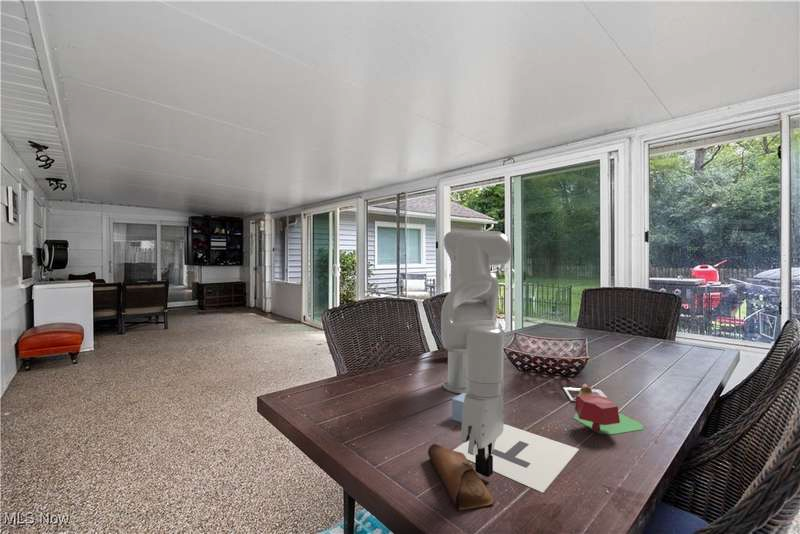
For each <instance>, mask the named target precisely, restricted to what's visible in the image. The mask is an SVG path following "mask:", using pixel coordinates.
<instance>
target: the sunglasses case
mask: <svg viewBox="0 0 800 534" xmlns="http://www.w3.org/2000/svg"><path fill="white" fill-rule="evenodd" d="M453 450H454V449H449V448H447V447H445V446H442V445H440V444H436V443H432V444H431V445H430V446H429V447H428V450H427V456H428V457H429V460H430V461H431V463H432V464H433V466H434V468H435V470H436V471H437V473H438V475H439V478H440V479H441V481H442V483H443V485H444V487H445V489H446V491H447V493H448V495H449V497H450V499H451V500H452V502H453V504H454V506H455V507H456V508H457V509H458V510H459V511H467V510H476V509H481V508H484V507H490V506H491V505H494V504H495V499H494V498H493V495H492V494H491V492H490V491H489V490H488V488H487V486H486V485H485V483H484V482H483V480H482V479H481V478H480V476H479V475H478V473H477V472H476V471H475V469H474V467H473V466H472V464H471V463H470V462H469V460H467V458H466V457H465V455H464V454H463V453H460V452H457V451H453Z"/></svg>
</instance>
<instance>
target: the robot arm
mask: <svg viewBox="0 0 800 534" xmlns="http://www.w3.org/2000/svg"><path fill="white" fill-rule="evenodd" d="M443 245H444V249H445V252H446V254H447V255H448V257H449V259H450V260H449V261H450V284H449V285H450V286H449V287H450V291H449V292H448V293H447V295H446V297H445V298H444V300H443V303H442V306H441V311H440V325H441V326H440V332H441V333H440V335H441V343H442V346H443V348H444V349H445V350H446V352H447V351H448V359H447V379H446V380H445V381H443V388H444V389H445V390H446V391H448V392H450V393H451V392H452V393H454V394H462V393H466V395H465V399H464V404H463V412H462V423H461V429H460V439H461V442H462V443H465V442H467V441H469V446H468V453H469V454H471V455H475V463H474V464H475V465H474V466H475V467H474V468H475V469H474V470H475V472H476V473H477V474H479V475H482V476H483V477H486V478H490V476H492V475H493V474H494V471H493V456H492V455H493V453H494V446H495V440H496V439H497V438H498V437H499V436H500V435H501V434H502V432H503V426H504V424H505V423H504V422H505V421H504V420H505V419H504V400H503V396H504V345H505V343H506V330H505V328H504V327H503V325H502V324H501V323H500V322H499V321H498V320H496V318H497V311H498V302H499V294H500V293H499V289H500V286H499V285H500V283H499V278H498V276H497V274H495V273H494V272H492V271H491V265H492V266H503V265H507V264H509V262H510V260H511V257H512V256H511V255H512V246H511V242H510V240H509V238H508V236H507V235H506V234H504V233H503V232H500V231H495V230H486V231H485V230H481V231H480V230H460V231H459V230H455V231H449V232H447V233H446V234H445V235H444V238H443Z"/></svg>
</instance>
